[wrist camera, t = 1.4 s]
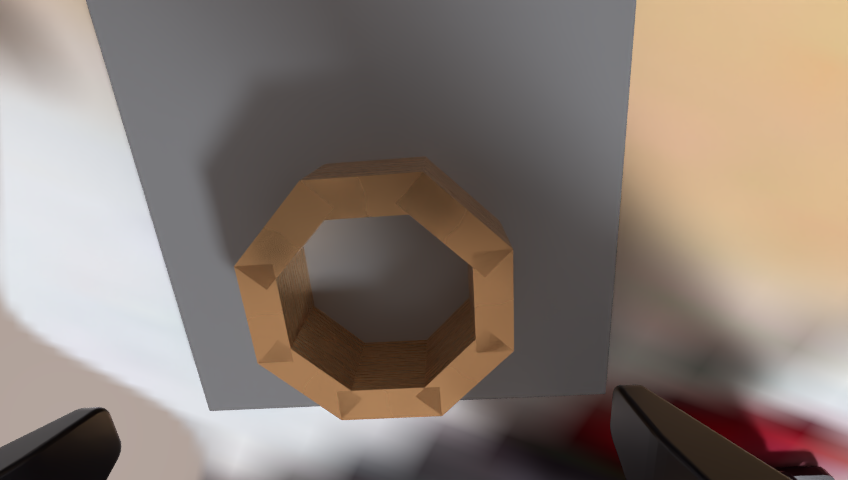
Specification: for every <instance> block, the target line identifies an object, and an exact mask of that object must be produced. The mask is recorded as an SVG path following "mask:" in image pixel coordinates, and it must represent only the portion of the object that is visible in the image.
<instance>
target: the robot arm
mask: <svg viewBox="0 0 848 480" xmlns="http://www.w3.org/2000/svg"><path fill="white" fill-rule="evenodd" d="M610 427H611V435H612V439H613V442H614V445H615V448H616V451H617V453H618V456H619V459H620V462H621V465H622V468H623V471H624V474H625V477H626V480H834V478H833V477H832V476H831V475H830V474H829V473H828V472H827V471H826V470H825V469H823V468H822V467H817V466H812V467H782V468H772V467H771V466H769V465H768V464H766V463H764V462H763V461H761V460H760V459H758V458H756V457H755V456H753V455H752V454H750V453H748V452H747V451H745V450H744V449H742V448H741V447H739V446H737V445H736V444H734V443H733V442H731V441H729V440H728V439H726V438H725V437H723V436H721V435H720V434H718V433H717V432H715V431H713V430H712V429H710V428H709V427H707V426H706V425H704V424H702V423H701V422H699V421H698V420H696V419H694V418H693V417H691V416H690V415H688V414H686V413H685V412H683V411H682V410H680V409H679V408H677V407H675V406H674V405H672V404H671V403H669V402H667V401H666V400H664V399H663V398H661V397H659V396H658V395H656V394H655V393H653V392H651V391H650V390H648V389H647V388H645V387H643V386H641V385H619V386H617V387H616V388H615V389H614V391H613V399H612V411H611V422H610ZM120 452H121V441H120V439H119V436H118V433H117V431H116V428H115V426H114V423H113V421H112V418H111V416H110V414H109V412H108V411H107V410H106V409H105V408H100V407H96V408H81V409H78V410H75V411H73V412H71V413H69V414H67V415H65V416H63V417H61V418H59V419H57V420H55V421H53V422H51V423H49V424H47V425H45V426H43V427H41V428H39V429H37V430H35V431H33V432H31V433H29V434H27V435H25V436H23V437H21V438H19V439H17V440H15V441H12V442H10V443H9V444H7V445H4V446H2V447H1V448H0V480H107V478H108V476H109V474H110V472H111V470H112V469H113V467H114V465H115V463H116V461H117V460H118V457H119V455H120Z"/></svg>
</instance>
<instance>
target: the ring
mask: <svg viewBox="0 0 848 480" xmlns="http://www.w3.org/2000/svg"><path fill="white" fill-rule="evenodd" d="M394 215H410V216H411V217H412V218H414V219H415V220H416V221H417V222H419V223H420V224H421V225H422V226H423V227H425V228H426V229H427V230H428V231H429V232H431V233H432V234H433V235H434V236H435V237H437V238H438V239H439V240H440V241H442V242H443V243H444V244H445V245H446V246H448V247H449V248H450V249H451V250H452V251H454V252H455V253H456V254H457V255H458V256H460V257H461V258H462V259H463V260H465V261H466V262H467V263H468V282H469V298H468V299H467V300H466V301H465V302H464V303H463V304H462V305H461V306H460V307H459V308H458V309H457V310H456V311H455V312H454V313H453V314H452V315H451V316H450V317H449V318H448V319H447V320H446V321H445V322H444V323H443V324H442V325H441V326H440V327H439V328H438V329H437V330H436V331H435V332H434V333H433V334H432V335H431V336H430V337H429V338H428V339H427V340H411V341H391V342H371V343H364V342H363V341H362V340H360V339H359V338H358V337H356V336H355V335H353V334H352V333H351V332H349V331H348V330H347V329H345V328H344V327H342V326H341V325H340V324H338V323H337V322H336V321H334V320H333V319H332V318H330V317H329V316H327V315H326V314H325V313H323V312H322V311H321V310H319V309H318V308H316V307H315V306H314V300H313V295H312V289H311V284H310V278H309V273H308V267H307V262H306V256H305V251H304V245H305V244H306V243H307V242H308V241H309V239H310V238H311V237H312V236H313V234H314V233H315V232H316V231H317V229H318V228H319V227H320V226H321V225H322V223H323V222H324V221H325V220H334V219H349V218H364V217H379V216H394ZM234 269H235V273H236V277H237V281H238V285H239V289H240V293H241V297H242V302H243V306H244V310H245V314H246V318H247V322H248V326H249V330H250V334H251V338H252V343H253V347H254V351H255V355H256V359H257V363H258V364H259V365H261V366H262V367H264V368H265V369H267V370H268V371H270V372H271V373H273V374H274V375H276V376H277V377H278V378H280V379H281V380H283V381H284V382H286V383H287V384H289V385H290V386H292V387H293V388H295V389H296V390H298V391H299V392H301V393H302V394H304V395H305V396H307V397H308V398H310V399H311V400H313V401H314V402H316V403H317V404H319V405H320V406H321V407H323V408H324V409H326V410H327V411H329V412H330V413H332V414H333V415H335V416H336V417H338V418H339V419H341V420H355V419H380V418H404V417H428V416H442V415H444V414H445V413H446V412H447V411H448V410H449V409H450V408H451V407H452V406H453V405H455V404H456V403H457V402H458V401H459V400H460V399H461V398H462V397H463V396H465V395H466V394H467V393H468V392H469V391H470V390H471V389H472V388H473V387H475V386H476V385H477V384H478V383H479V382H480V381H481V380H482V379H483V378H484V377H486V376H487V375H488V374H489V373H490V372H491V371H492V370H493V369H494V368H496V367H497V366H498V365H499V364H500V363H501V362H502V361H503V360H504V359H506V358H507V357H508V356H509V355H510V354H511V353H512V352H513V351H514V286H513V248H512V246H511V244H510V242H509V239H508V237H507V235H506V233H505V231H504V229H503V227H502V225H501V223H500V221H499V220H498V219H497V218H496V217H495V216H493V215H492V214H491V213H490V212H489V211H488V210H486V209H485V208H484V207H483V206H482V205H481V204H480V203H478V202H477V201H476V200H475V199H474V198H473V197H472V196H470V195H469V194H468V193H467V192H466V191H465V190H463V189H462V188H461V187H460V186H459V185H458V184H457V183H455V182H454V181H453V180H452V179H451V178H450V177H449V176H447V175H446V174H445V173H444V172H443V171H442V170H441V169H439V168H438V167H437V166H436V165H435V164H434V163H432V162H431V161H430V160H429V159H428V158H427V157H426V156H425V157H411V158H398V159H384V160H371V161H357V162H343V163H330V164H324V165H322V166H321V167H319V168H318V169H316V170H315V171H313V172H312V173H310V174H309V175H307V176H306V177H304V178H303V179H301V180H300V181H299V182H298V183H297V184H296V186H295V187H294V188H293V190H292V191H291V192H290V194H289V195H288V196H287V198H286V199H285V200H284V201H283V203H282V204H281V205H280V207H279V208H278V209H277V211H276V212H275V213H274V215H273V216H272V217H271V219H270V220H269V221H268V222H267V224H266V225H265V226H264V228H263V229H262V230H261V232H260V233H259V234H258V236H257V237H256V238H255V239H254V241H253V242H252V243H251V245H250V246H249V247H248V249H247V250H246V251H245V253H244V254H243V255H242V256H241V258H240V259H239V260H238V262H237V263H236V264H235V266H234Z"/></svg>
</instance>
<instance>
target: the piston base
mask: <svg viewBox="0 0 848 480" xmlns="http://www.w3.org/2000/svg"><path fill="white" fill-rule="evenodd" d="M86 2H87V5H88V8H89V12H90V15H91V18H92V22H93V25H94V28H95V32H96V35H97V38H98V42H99V45H100V48H101V52H102V55H103V58H104V62H105V65H106V68H107V72H108V75H109V78H110V82H111V85H112V88H113V91H114V95H115V98H116V101H117V105H118V108H119V111H120V115H121V118H122V121H123V125H124V128H125V131H126V135H127V138H128V141H129V145H130V148H131V151H132V155H133V158H134V161H135V165H136V168H137V171H138V175H139V178H140V181H141V184H142V188H143V191H144V194H145V198H146V201H147V204H148V208H149V211H150V214H151V218H152V221H153V224H154V228H155V231H156V234H157V238H158V241H159V244H160V248H161V251H162V254H163V258H164V261H165V264H166V268H167V271H168V274H169V277H170V281H171V284H172V287H173V291H174V294H175V297H176V301H177V304H178V307H179V311H180V314H181V317H182V321H183V324H184V327H185V331H186V334H187V337H188V341H189V344H190V347H191V351H192V354H193V357H194V361H195V364H196V367H197V371H198V374H199V377H200V380H201V384H202V387H203V390H204V394H205V397H206V400H207V404H208V407H209V410H210V411H218V410H241V409H264V408H288V407H311V406H320V405H319V404H317V403H316V402H314V401H313V400H311V399H310V398H308V397H307V396H305V395H304V394H302V393H301V392H299V391H298V390H296V389H295V388H293V387H292V386H290V385H289V384H287V383H286V382H284V381H283V380H281V379H280V378H278V377H277V376H276V375H274V374H273V373H271V372H270V371H268V370H267V369H265V368H264V367H262V366H261V365H259V364H258V363H257V359H256V355H255V351H254V347H253V343H252V338H251V334H250V330H249V326H248V322H247V318H246V314H245V310H244V306H243V302H242V297H241V293H240V289H239V285H238V281H237V277H236V273H235V269H234V266H235V264H236V263H237V262H238V260H239V259H240V258H241V256H242V255H243V254H244V253H245V251H246V250H247V249H248V247H249V246H250V245H251V243H252V242H253V241H254V239H255V238H256V237H257V236H258V234H259V233H260V232H261V230H262V229H263V228H264V226H265V225H266V224H267V222H268V221H269V220H270V219H271V217H272V216H273V215H274V213H275V212H276V211H277V209H278V208H279V207H280V205H281V204H282V203H283V201H284V200H285V199H286V198H287V196H288V195H289V194H290V192H291V191H292V190H293V188H294V187H295V186H296V184H297V183H298V182H299V181H300V180H301V179H303V178H304V177H306V176H307V175H309V174H310V173H312V172H313V171H315V170H316V169H318V168H319V167H321V166H322V165H324V164H330V163H343V162H357V161H371V160H384V159H398V158H411V157H425V156H426V157H427V158H428V159H429V160H430V161H431V162H432V163H434V164H435V165H436V166H437V167H438V168H439V169H441V170H442V171H443V172H444V173H445V174H446V175H447V176H449V177H450V178H451V179H452V180H453V181H454V182H455V183H457V184H458V185H459V186H460V187H461V188H462V189H463V190H465V191H466V192H467V193H468V194H469V195H470V196H472V197H473V198H474V199H475V200H476V201H477V202H478V203H480V204H481V205H482V206H483V207H484V208H485V209H486V210H488V211H489V212H490V213H491V214H492V215H493V216H495V217H496V218H497V219H498V220H499V221H500V223H501V225H502V227H503V229H504V231H505V233H506V235H507V237H508V239H509V242H510V244H511V246H512V248H513V286H514V351H513V352H512V353H511V354H510V355H509V356H508V357H507V358H506V359H504V360H503V361H502V362H501V363H500V364H499V365H498V366H497V367H496V368H494V369H493V370H492V371H491V372H490V373H489V374H488V375H487V376H486V377H484V378H483V379H482V380H481V381H480V382H479V383H478V384H477V385H476V386H475V387H473V388H472V389H471V390H470V391H469V392H468V393H467V394H466V395H465V396H463V397H462V398H461V399H460V400H473V399H496V398H519V397H543V396H566V395H589V394H605V393H606V380H607V367H608V355H609V342H610V329H611V316H612V304H613V291H614V278H615V265H616V253H617V240H618V227H619V214H620V202H621V189H622V176H623V163H624V151H625V138H626V125H627V112H628V100H629V87H630V74H631V61H632V49H633V36H634V23H635V10H636V0H86ZM304 251H305V256H306V262H307V267H308V273H309V278H310V284H311V289H312V295H313V300H314V306H315V307H316V308H318V309H319V310H321V311H322V312H323V313H325V314H326V315H327V316H329V317H330V318H332V319H333V320H334V321H336V322H337V323H338V324H340V325H341V326H342V327H344V328H345V329H347V330H348V331H349V332H351V333H352V334H353V335H355V336H356V337H358V338H359V339H360V340H362V341H363V342H364V343H371V342H391V341H411V340H427V339H428V338H429V337H430V336H431V335H432V334H433V333H434V332H435V331H436V330H437V329H438V328H439V327H440V326H441V325H442V324H443V323H444V322H445V321H446V320H447V319H448V318H449V317H450V316H451V315H452V314H453V313H454V312H455V311H456V310H457V309H458V308H459V307H460V306H461V305H462V304H463V303H464V302H465V301H466V300H467V299H468V298H469V282H468V263H467V262H466V261H465V260H463V259H462V258H461V257H460V256H458V255H457V254H456V253H455V252H454V251H452V250H451V249H450V248H449V247H448V246H446V245H445V244H444V243H443V242H442V241H440V240H439V239H438V238H437V237H435V236H434V235H433V234H432V233H431V232H429V231H428V230H427V229H426V228H425V227H423V226H422V225H421V224H420V223H419V222H417V221H416V220H415V219H414V218H412V217H411V216H410V215H394V216H379V217H364V218H349V219H334V220H325V221H324V222H323V223H322V225H321V226H320V227H319V228H318V229H317V231H316V232H315V233H314V234H313V236H312V237H311V238H310V239H309V241H308V242H307V243H306V244H305V245H304Z"/></svg>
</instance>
